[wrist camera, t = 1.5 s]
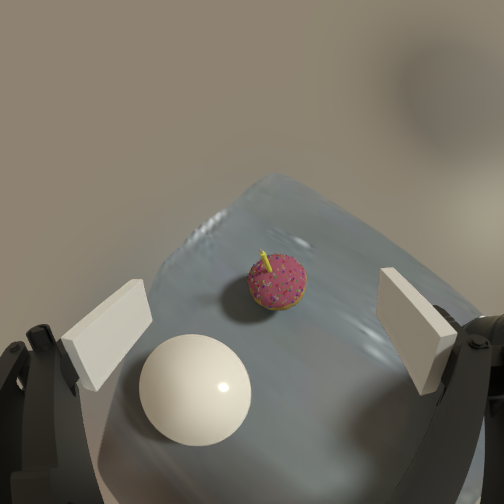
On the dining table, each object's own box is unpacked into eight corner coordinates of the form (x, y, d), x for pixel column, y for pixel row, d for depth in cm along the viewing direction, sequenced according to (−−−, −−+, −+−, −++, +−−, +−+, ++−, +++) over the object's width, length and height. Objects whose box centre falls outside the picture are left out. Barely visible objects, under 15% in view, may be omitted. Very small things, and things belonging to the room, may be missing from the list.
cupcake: (242, 300, 43) (225, 268, 33) (270, 259, 46) (263, 217, 36) (288, 327, 40) (287, 303, 30) (315, 282, 43) (322, 245, 33)
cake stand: (222, 326, 42) (208, 312, 35) (278, 404, 35) (275, 408, 28) (149, 373, 39) (122, 368, 32) (196, 451, 32) (175, 462, 25)
